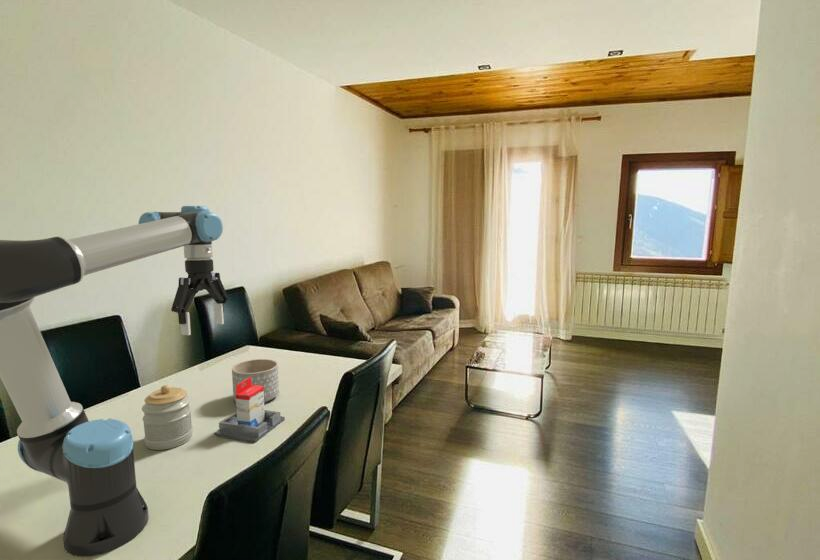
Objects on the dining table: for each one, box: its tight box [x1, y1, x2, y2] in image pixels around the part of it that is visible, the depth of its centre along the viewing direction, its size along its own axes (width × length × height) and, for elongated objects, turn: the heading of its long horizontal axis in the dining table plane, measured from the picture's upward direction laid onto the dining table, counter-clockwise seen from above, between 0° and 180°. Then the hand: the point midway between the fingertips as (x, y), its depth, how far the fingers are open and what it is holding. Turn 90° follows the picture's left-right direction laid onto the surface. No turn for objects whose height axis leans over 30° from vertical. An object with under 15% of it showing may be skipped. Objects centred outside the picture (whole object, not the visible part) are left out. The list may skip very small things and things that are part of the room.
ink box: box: [235, 377, 266, 426], centre depth 139 cm, size 8×5×15 cm, turn 167°
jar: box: [141, 384, 194, 451], centre depth 131 cm, size 13×13×18 cm
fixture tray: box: [213, 409, 286, 444], centre depth 140 cm, size 16×15×4 cm
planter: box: [231, 358, 280, 404], centre depth 163 cm, size 16×16×13 cm
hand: (203, 329), depth 129 cm, fingers open, 13 cm apart
